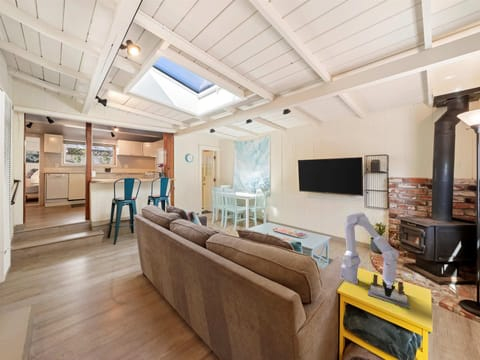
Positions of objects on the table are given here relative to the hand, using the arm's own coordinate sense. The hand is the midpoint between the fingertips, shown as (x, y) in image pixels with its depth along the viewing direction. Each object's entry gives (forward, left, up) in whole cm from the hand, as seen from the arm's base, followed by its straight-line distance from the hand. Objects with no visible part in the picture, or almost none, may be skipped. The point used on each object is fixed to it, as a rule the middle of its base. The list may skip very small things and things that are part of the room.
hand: (387, 294), depth 110 cm
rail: (0, 0, -1) cm, 1 cm away
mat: (0, 0, -2) cm, 2 cm away
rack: (0, +8, -2) cm, 9 cm away
